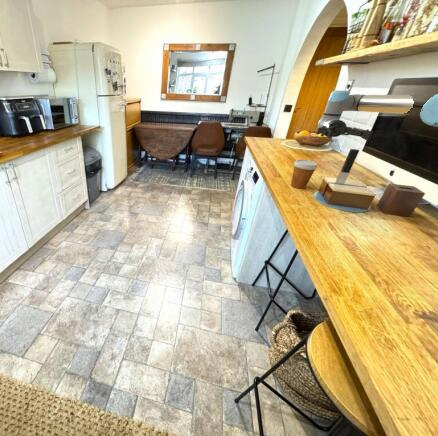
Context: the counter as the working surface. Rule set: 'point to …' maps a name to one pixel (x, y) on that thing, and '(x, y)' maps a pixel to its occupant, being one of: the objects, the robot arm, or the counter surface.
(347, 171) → the cake knife
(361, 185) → the cake
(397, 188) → the knife block
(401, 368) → the counter surface
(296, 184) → the disposable coffee cup
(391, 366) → the counter surface
